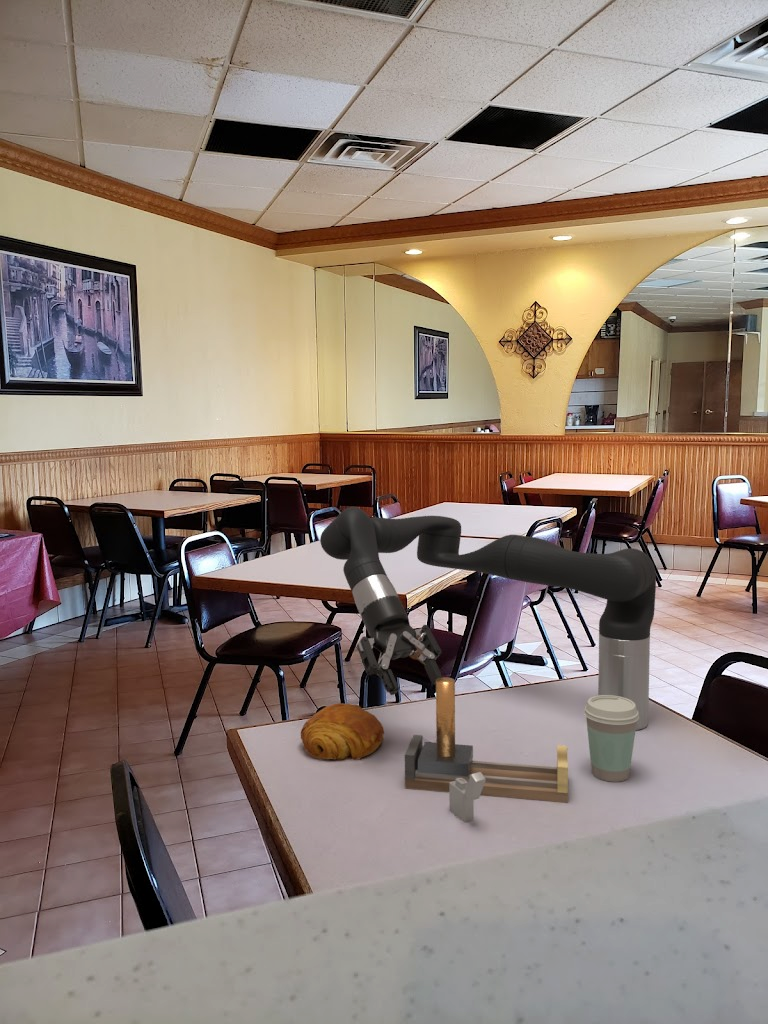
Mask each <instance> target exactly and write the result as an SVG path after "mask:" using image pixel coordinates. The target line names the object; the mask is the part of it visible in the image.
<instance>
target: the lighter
mask: <svg viewBox="0 0 768 1024" xmlns="http://www.w3.org/2000/svg"><path fill="white" fill-rule="evenodd" d="M485 781H486V779H485V777H484V776H483V774H482V773H481V772H478V773H474V774H472V775H471V776H470V779H469V782H467V781H466V780H464V779H463V778H456V779H455V781H452V782H450V783H449V792H448V793H449V794H448V795H449V811H450V812H451V813H452V814H453V815H455V816H456V818H458V819H459V820H461V821H462V822H463V823H467V822H470V821H473V820H475V817H474V816H475V815H474V813H475V812H474V811H475V810H474V807H475V805H474V804H475V802H474V801H475V800H477V799H480V797H481V795H480V794H481V792H482V789H483V786H484V783H485Z"/></svg>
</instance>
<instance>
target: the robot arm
mask: <svg viewBox="0 0 768 1024" xmlns="http://www.w3.org/2000/svg"><path fill="white" fill-rule="evenodd" d="M461 536H462V525H461V522H460V521H459V520H457V519H455V518H453V517H448V516H442V515H423V516H412V517H405V518H404V517H402V518H387V517H375V516H374V517H372V516H371V517H370V516H369V514H367V513H366V512H365V511H364V510H363V509H361V508H359V507H356V506H350V507H346V508H345V509H343V510H342V511H341V512H340V513H339V514H338V515H337V516H336V517H335V518H334V519H333V520H332V521H331V522H330V523H329V524H328V525H327V526H326V528H324V529H323V531H322V532H321V534H320V537H319V538H320V539H319V541H320V545H321V548H322V550H323V551H324V553H326V554H327V555H328V556H330V557H332V558H334V559H336V560H343V561H345V563H344V565H343V567H342V568H343V569H342V571H343V574H344V577H345V579H346V581H347V584H348V587H349V589H350V591H351V594H352V597H353V599H354V603H355V605H356V608H357V611H358V613H359V615H360V617H361V619H362V622H363V624H364V626H365V629H366V631H367V634H368V636H369V637H370V638H368V637H367V636H362V637H361V639H360V640H359V642H357V644H356V648H357V651H358V653H359V656H360V659H361V662H362V665H363V667H364V670H365V672H366V673H365V674H367V675H368V676H371V675H377V676H379V678H380V680H381V682H382V685H383V687H384V689H385V691H386V692H387V693H389V695H390V696H395V695H396V694H398V691H399V689H400V687H399V684H398V683H397V680H396V678H395V675H394V673H393V671H392V669H391V668H390V669H389V666H390V661H391V660H392V661H394V660H398V659H399V658H403V659H404V658H408V657H409V658H411V659H412V660H417V661H419V662H420V663H421V664H422V665H424V669H425V672H426V674H427V676H428V679H429V681H430V682H431V684H432V685H434V686H435V685H436V679H438V678H442V672H441V670H440V667H439V666H438V663H437V661H436V660H437V658H439V656H440V655H441V654H442V652H443V651H442V649H441V648H440V645H439V644H438V642H437V640H436V638H435V636H434V634H433V633H432V631H431V629H430V627H429V625H427V624H423V626H422V627H420V628H416V629H414V628H413V627H412V626H411V624H410V620H409V616H408V613H407V611H406V609H405V607H404V605H403V604H402V601H401V599H400V597H399V595H398V592H397V591H396V588H395V587H394V585H393V583H392V582H391V580H390V578H389V577H388V575H387V573H386V571H385V568H384V567H383V564H382V562H381V560H380V555H379V554H391V553H392V554H394V553H397V552H399V551H402V550H404V549H405V548H407V546H409V545H410V544H411V543H412V542H413V541H414V540H415V539H417V538H418V541H417V547H416V548H417V549H416V557H417V560H418V561H419V562H421V563H423V564H425V565H428V566H432V567H439V568H447V569H454V570H461V571H469V572H475V573H476V572H477V573H481V574H487V575H490V576H495V577H499V578H503V579H504V578H505V579H507V580H508V579H509V580H514V581H518V582H524V583H530V584H535V585H543V586H550V587H555V588H556V587H557V588H565V589H570V590H575V591H578V592H581V593H585V594H588V595H591V596H594V597H597V598H600V599H604V600H606V603H605V604H606V605H605V608H604V611H602V612H603V613H602V614H601V616H600V619H599V621H598V676H597V677H598V682H597V683H598V687H597V688H598V691H597V694H598V695H597V696H599V695H613V696H620V697H624V698H627V699H629V700H631V701H633V702H634V703H635V705H636V709H637V711H638V715H639V719H638V720H637V723H636V731H637V730H638V731H639V730H642V729H644V728H646V727H648V725H649V703H650V700H649V698H650V697H649V695H650V658H651V657H650V655H651V654H650V652H651V651H650V649H651V648H650V646H651V645H650V644H651V643H650V642H651V628H652V623H653V620H654V616H655V610H656V609H655V607H656V606H655V605H656V590H657V589H656V588H657V587H656V586H657V575H656V568H655V564H654V562H653V560H652V559H651V558H650V556H649V555H648V554H646V552H644V551H642V550H640V549H637V548H630V547H628V548H623V549H620V550H617V551H614V552H611V553H591V552H590V553H588V552H578V551H573V550H570V549H567V548H563V547H561V546H560V545H557V544H555V543H554V542H551V541H548V540H546V539H542V538H538V537H533V536H528V535H527V536H526V535H520V534H509V535H508V534H507V535H504V536H502V537H500V538H498V539H496V540H493V541H492V542H489V543H488V544H486V545H484V546H482V547H481V548H479V549H476V550H474V551H472V552H471V551H470V552H468V553H464V554H459V552H460V544H461ZM373 648H375V650H377V651H379V652H380V654H379V658H378V661H377V660H376V656H375V653H374V651H373ZM414 648H415V649H416V650H414Z"/></svg>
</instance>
